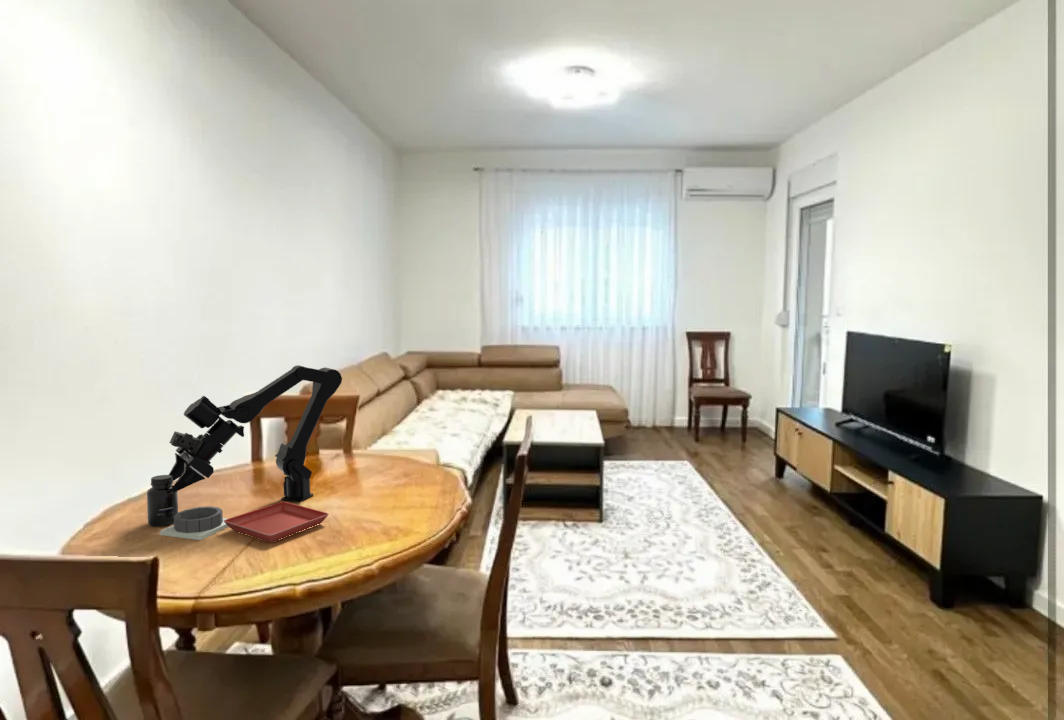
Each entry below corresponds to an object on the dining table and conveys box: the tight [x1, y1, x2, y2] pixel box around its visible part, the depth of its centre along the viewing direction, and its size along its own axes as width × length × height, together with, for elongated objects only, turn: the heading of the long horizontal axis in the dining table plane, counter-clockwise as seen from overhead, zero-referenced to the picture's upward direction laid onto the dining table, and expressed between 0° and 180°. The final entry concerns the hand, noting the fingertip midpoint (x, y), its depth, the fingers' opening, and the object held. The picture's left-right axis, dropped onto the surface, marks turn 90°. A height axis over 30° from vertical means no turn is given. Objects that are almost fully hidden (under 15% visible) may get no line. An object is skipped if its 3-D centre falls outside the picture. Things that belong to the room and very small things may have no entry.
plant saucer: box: [224, 501, 329, 543], centre depth 163 cm, size 18×18×3 cm
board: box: [159, 517, 230, 541], centre depth 162 cm, size 12×12×1 cm
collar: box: [173, 506, 224, 533], centre depth 161 cm, size 10×10×3 cm
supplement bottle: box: [146, 474, 179, 528], centre depth 165 cm, size 7×7×12 cm
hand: (169, 486), depth 166 cm, fingers open, 9 cm apart
